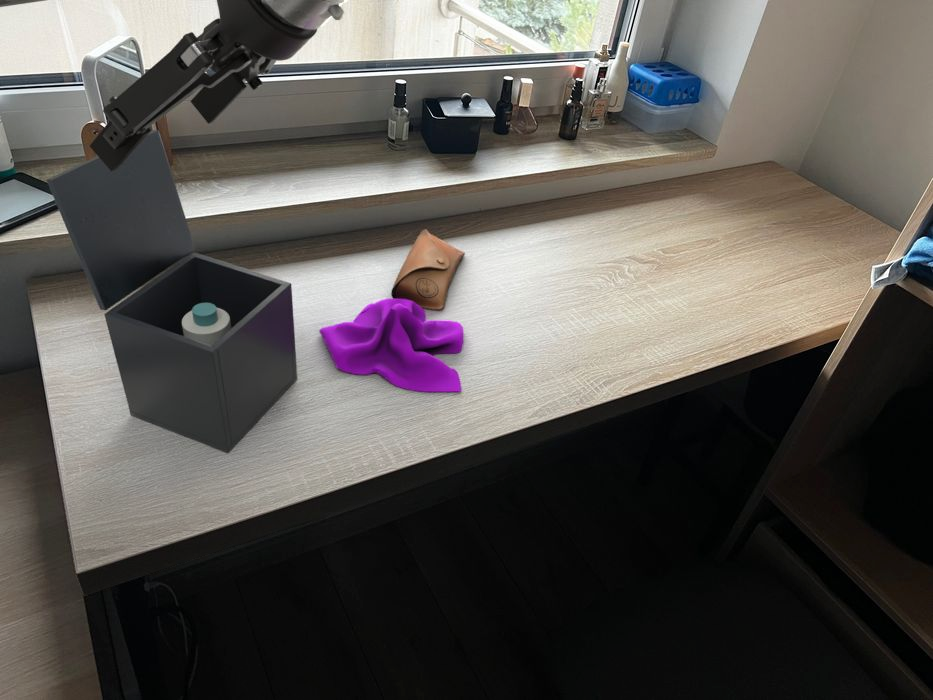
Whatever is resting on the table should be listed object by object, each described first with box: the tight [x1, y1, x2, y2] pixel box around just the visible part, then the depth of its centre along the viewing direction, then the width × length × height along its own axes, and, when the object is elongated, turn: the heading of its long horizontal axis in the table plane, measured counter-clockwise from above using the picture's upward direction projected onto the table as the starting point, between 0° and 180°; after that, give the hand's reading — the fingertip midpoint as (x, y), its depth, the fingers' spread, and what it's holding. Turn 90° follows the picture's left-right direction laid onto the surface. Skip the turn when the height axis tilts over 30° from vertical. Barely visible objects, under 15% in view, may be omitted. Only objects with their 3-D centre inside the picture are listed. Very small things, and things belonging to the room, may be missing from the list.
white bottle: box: [182, 303, 231, 346], centre depth 85 cm, size 5×5×12 cm
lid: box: [46, 129, 196, 311], centre depth 77 cm, size 14×15×1 cm
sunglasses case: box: [390, 229, 466, 311], centre depth 114 cm, size 18×7×7 cm
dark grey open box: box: [103, 251, 298, 454], centre depth 85 cm, size 14×15×15 cm
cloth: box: [319, 298, 464, 393], centre depth 99 cm, size 22×19×6 cm
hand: (156, 133), depth 69 cm, fingers open, 13 cm apart
